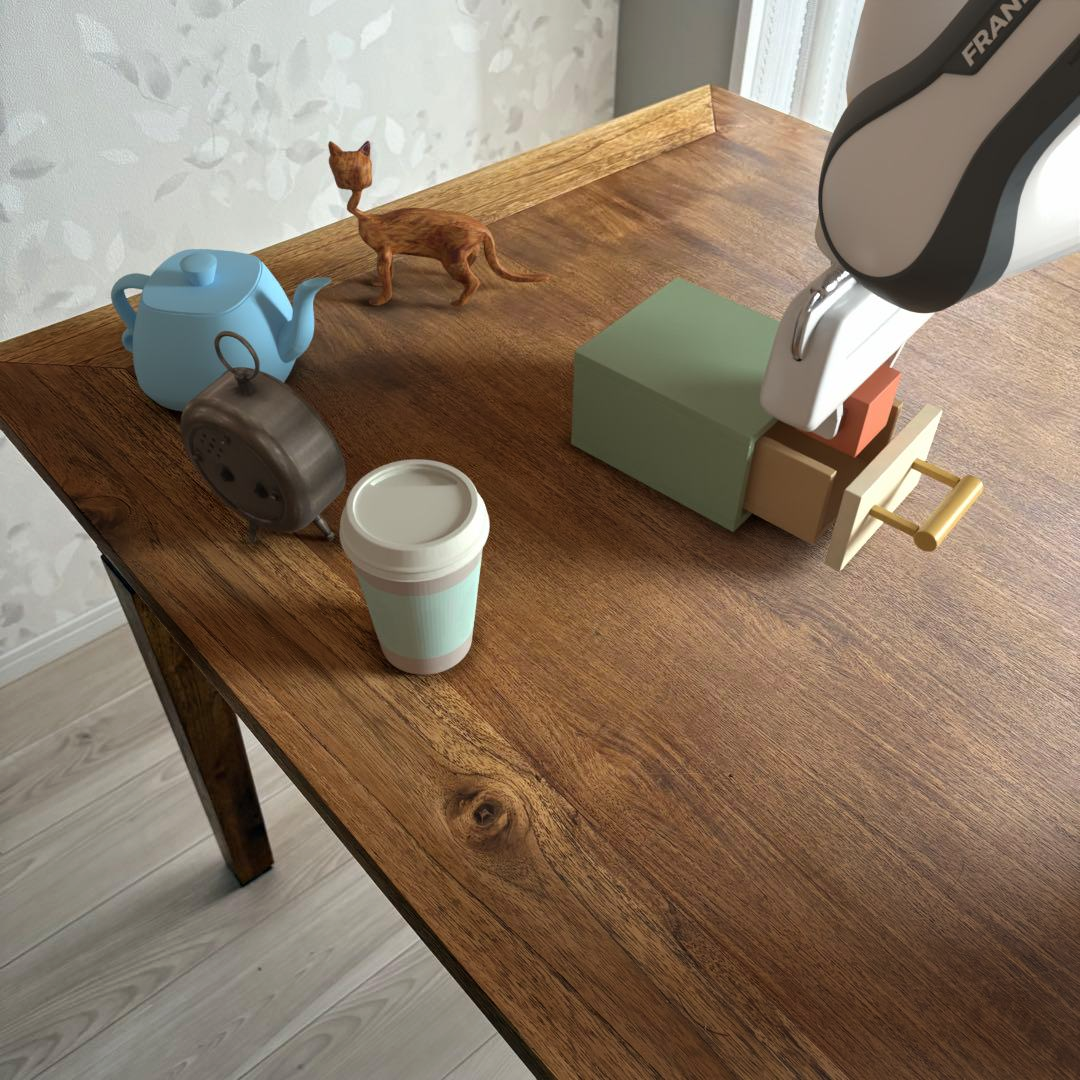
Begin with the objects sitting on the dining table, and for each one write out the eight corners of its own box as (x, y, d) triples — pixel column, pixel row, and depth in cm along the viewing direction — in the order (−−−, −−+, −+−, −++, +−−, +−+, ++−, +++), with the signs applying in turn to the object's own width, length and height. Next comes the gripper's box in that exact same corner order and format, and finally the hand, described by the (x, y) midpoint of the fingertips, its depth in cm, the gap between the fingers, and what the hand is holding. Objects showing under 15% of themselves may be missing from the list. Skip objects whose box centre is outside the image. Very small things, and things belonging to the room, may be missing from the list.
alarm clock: (360, 532, 77) (330, 339, 66) (309, 580, 74) (268, 386, 63) (243, 474, 81) (195, 283, 70) (189, 518, 78) (131, 325, 67)
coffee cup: (518, 621, 72) (517, 484, 63) (444, 714, 67) (432, 579, 58) (410, 571, 75) (395, 434, 66) (331, 657, 70) (303, 520, 61)
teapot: (305, 321, 77) (58, 297, 78) (325, 439, 84) (99, 416, 86) (353, 228, 85) (130, 208, 87) (367, 343, 93) (162, 323, 95)
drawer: (980, 513, 78) (1010, 439, 73) (905, 607, 72) (933, 533, 67) (758, 407, 86) (771, 334, 81) (673, 483, 80) (682, 409, 75)
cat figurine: (547, 270, 101) (550, 124, 91) (551, 311, 96) (554, 163, 87) (349, 273, 100) (330, 127, 91) (343, 315, 96) (322, 166, 86)
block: (886, 425, 74) (902, 372, 71) (854, 458, 72) (869, 404, 69) (828, 398, 76) (841, 345, 73) (795, 429, 74) (807, 376, 71)
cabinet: (823, 443, 84) (847, 350, 78) (733, 532, 78) (751, 438, 72) (667, 367, 91) (677, 276, 85) (570, 444, 84) (574, 350, 78)
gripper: (859, 318, 56) (809, 514, 66) (1022, 171, 67) (958, 358, 77) (752, 273, 59) (719, 468, 69) (926, 139, 70) (876, 323, 80)
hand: (847, 408), depth 73 cm, fingers closed on block, 4 cm apart
